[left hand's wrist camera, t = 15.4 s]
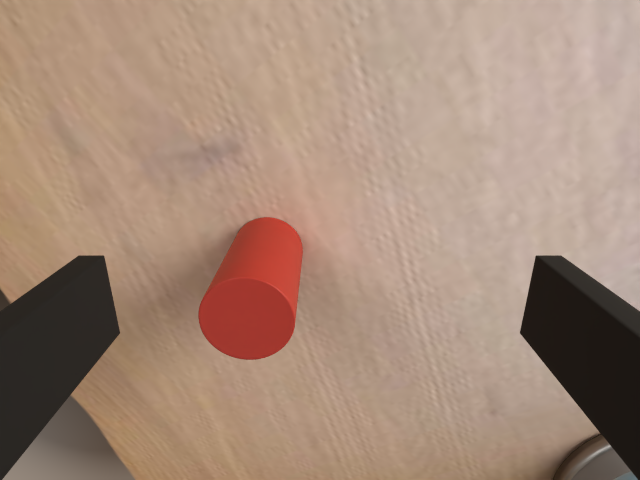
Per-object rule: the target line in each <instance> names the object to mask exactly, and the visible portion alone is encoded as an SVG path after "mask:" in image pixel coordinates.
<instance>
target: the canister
mask: <svg viewBox="0 0 640 480" xmlns="http://www.w3.org/2000/svg"><path fill="white" fill-rule="evenodd" d="M302 253H303V248H302V243H301V240H300V237H299V235H298V234H297V232H296V231H295V230H294V229H293V228H292V227H291V226H290V225H289V224H287V223H285V222H284V221H281V220H279V219H275V218H269V217H266V218H258V219H255V220H252V221H250V222H248V223H247V224H246V225H244V226H243V227H242V228H241V229H240V231H239V232H238V234H237V236H236V238H235V239H234V241H233V243H232V245H231V247H230V249H229V251H228V253H227V254H226V256H225V258H224V260H223V262H222V264H221V266H220V267H219V269H218V271H217V273H216V275H215V277H214V279H213V281H212V282H211V284H210V286H209V288H208V290H207V292H206V294H205V295H204V297H203V299H202V301H201V304H200V307H199V323H200V327H201V330H202V332H203V334H204V336H205V337H206V339H207V340H208V341H209V342H210V343H211V344H212V345H213V346H214V347H215V348H216V349H218V350H219V351H221V352H222V353H224V354H226V355H229V356H231V357H235V358H239V359H246V360H254V359H261V358H265V357H268V356H270V355H273V354H275V353H276V352H278V351H279V350H281V349H282V348H283V347H284V346H285V345H286V344H287V343H288V341H289V340H290V338H291V336H292V334H293V331H294V327H295V318H296V309H297V300H298V290H299V281H300V272H301V262H302Z"/></svg>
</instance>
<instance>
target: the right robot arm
mask: <svg viewBox="0 0 640 480" xmlns="http://www.w3.org/2000/svg"><path fill="white" fill-rule="evenodd" d="M553 480H638V479H637V478H636V477H635V475H634V474H633V473H632V472H631V470H630V469H629V468H628V467H627V465H626V464H625V463H624V462H623V460H622V459H621V458H620V457H619V455H618V454H617V453H616V452H615V450H614V449H613V448H612V447H611V445H610V444H609V443H608V442H607V440H606V439H605V438H604V437H603V436H602V434H601V435H599V436H597V437H595V438H593V439H591V440H589V441H588V442H586V443H585V444H583V445H582V446H580V447H579V448H577V449H576V450H575V451H574V452H573V453H572V454H570V455H569V456H568V457H567V458H566V460H565V461H564V462H563V463H562V464H561V466H560V467H559V469H558V470H557V472H556V474H555V476H554V479H553Z"/></svg>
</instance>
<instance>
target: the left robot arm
mask: <svg viewBox="0 0 640 480" xmlns="http://www.w3.org/2000/svg"><path fill="white" fill-rule="evenodd" d="M119 334H120V331H119V326H118V321H117V316H116V311H115V306H114V301H113V297H112V292H111V287H110V282H109V277H108V272H107V268H106V263H105V258H104V256H78V257H76V258H75V259H73V260H72V261H71V262H69V263H68V264H66V265H65V266H64V267H62V268H61V269H59V270H58V271H57V272H55V273H54V274H52V275H51V276H50V277H48V278H47V279H45V280H44V281H42V282H41V283H40V284H38V285H37V286H35V287H34V288H33V289H31V290H30V291H28V292H27V293H26V294H24V295H23V296H21V297H20V298H19V299H17V300H16V301H14V302H13V303H11V304H10V305H9V306H7V307H6V308H4V309H3V310H2V311H0V480H2V479H3V478H4V476H5V475H6V474H7V473H8V471H9V470H10V469H11V468H12V467H13V465H14V464H15V463H16V462H17V460H18V459H19V458H20V457H21V455H22V454H23V453H24V452H25V450H26V449H27V448H28V447H29V445H30V444H31V443H32V442H33V440H34V439H35V438H36V437H37V435H38V434H39V433H40V432H41V431H42V429H43V428H44V427H45V426H46V424H47V423H48V422H49V421H50V419H51V418H52V417H53V416H54V414H55V413H56V412H57V411H58V409H59V408H60V407H61V406H62V404H63V403H64V402H65V401H66V399H67V398H68V397H69V396H70V395H71V393H72V392H73V391H74V390H75V388H76V387H77V386H78V385H79V383H80V382H81V381H82V380H83V378H84V377H85V376H86V375H87V373H88V372H89V371H90V370H91V368H92V367H93V366H94V365H95V363H96V362H97V361H98V360H99V358H100V357H101V356H102V355H103V353H104V352H105V351H106V350H107V349H108V347H109V346H110V345H111V344H112V342H113V341H114V340H115V339H116V337H117V336H118V335H119ZM520 334H521V335H522V336H523V337H524V339H525V340H526V341H527V342H528V344H529V345H530V346H531V347H532V349H533V350H534V351H535V352H536V353H537V355H538V356H539V357H540V358H541V360H542V361H543V362H544V363H545V365H546V366H547V367H548V368H549V370H550V371H551V372H552V373H553V375H554V376H555V377H556V378H557V380H558V381H559V382H560V383H561V385H562V386H563V387H564V388H565V390H566V391H567V392H568V393H569V395H570V396H571V397H572V398H573V399H574V401H575V402H576V403H577V404H578V406H579V407H580V408H581V409H582V411H583V412H584V413H585V414H586V416H587V417H588V418H589V419H590V421H591V422H592V423H593V424H594V426H595V427H596V428H597V429H598V431H599V432H600V433H601V434H602V436H603V437H604V438H605V439H606V440H607V442H608V443H609V444H610V445H611V447H612V448H613V449H614V450H615V452H616V453H617V454H618V455H619V457H620V458H621V459H622V460H623V462H624V463H625V464H626V465H627V467H628V468H629V469H630V470H631V472H632V473H633V474H634V475H635V477H636V478H637V479H638V480H640V311H638V310H637V309H636V308H634V307H633V306H631V305H630V304H628V303H627V302H626V301H624V300H623V299H621V298H620V297H619V296H617V295H616V294H614V293H613V292H612V291H610V290H609V289H607V288H606V287H605V286H603V285H602V284H600V283H599V282H598V281H596V280H595V279H593V278H592V277H590V276H589V275H588V274H586V273H585V272H583V271H582V270H581V269H579V268H578V267H576V266H575V265H574V264H572V263H571V262H569V261H568V260H567V259H565V258H564V257H562V256H536V258H535V263H534V268H533V272H532V277H531V282H530V287H529V292H528V297H527V301H526V306H525V311H524V316H523V321H522V326H521V331H520Z"/></svg>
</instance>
